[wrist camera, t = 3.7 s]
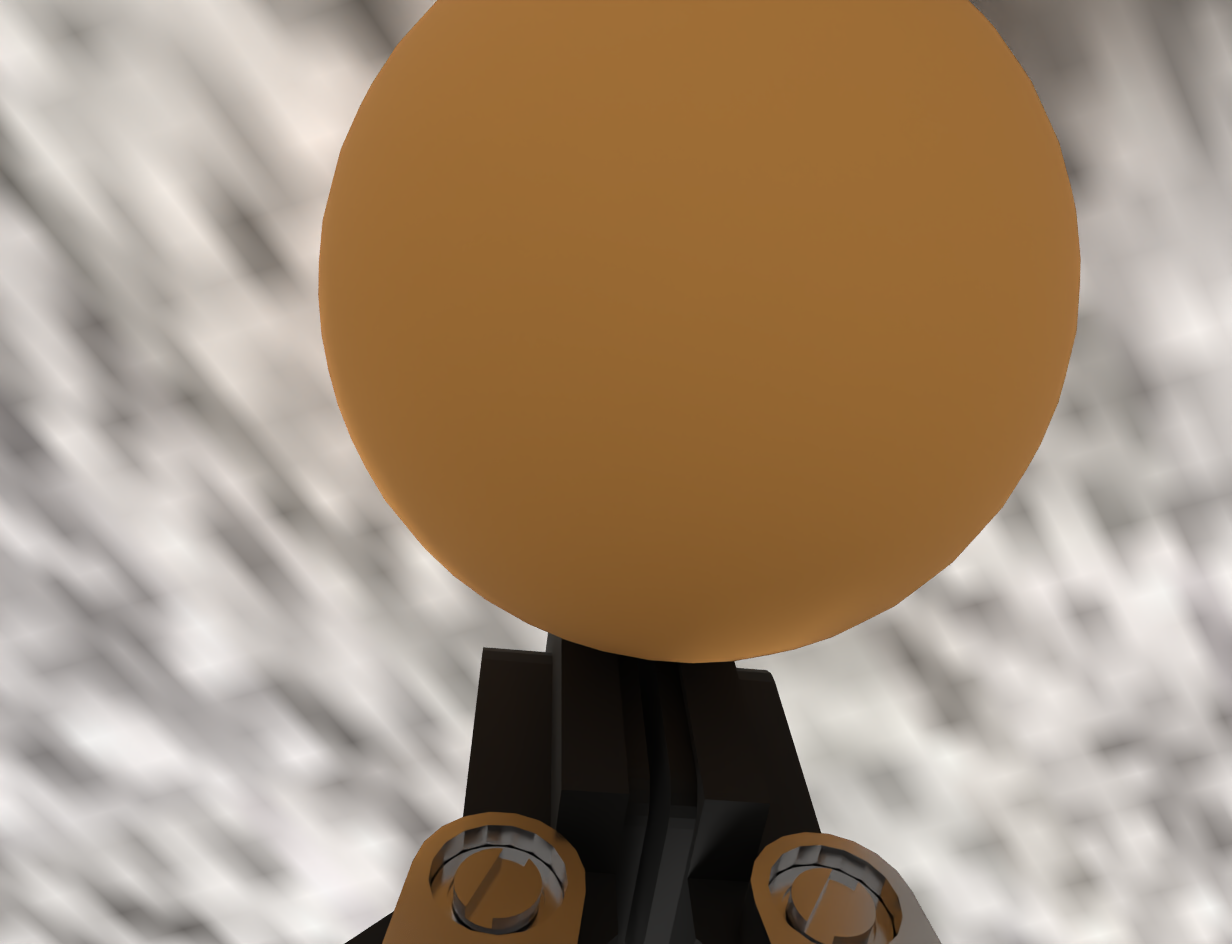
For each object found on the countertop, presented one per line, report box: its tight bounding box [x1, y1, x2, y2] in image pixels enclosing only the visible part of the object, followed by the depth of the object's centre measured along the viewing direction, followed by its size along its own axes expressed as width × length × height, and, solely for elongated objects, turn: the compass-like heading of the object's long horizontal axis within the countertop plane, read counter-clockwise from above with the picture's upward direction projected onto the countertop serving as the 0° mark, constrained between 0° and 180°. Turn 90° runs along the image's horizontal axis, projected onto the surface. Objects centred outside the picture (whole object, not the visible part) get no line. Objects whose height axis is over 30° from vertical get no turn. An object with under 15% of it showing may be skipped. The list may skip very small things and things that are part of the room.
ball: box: [318, 0, 1080, 663], centre depth 9 cm, size 6×6×6 cm
